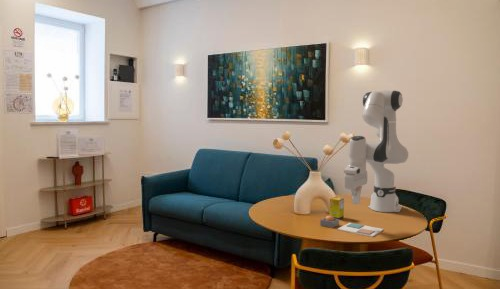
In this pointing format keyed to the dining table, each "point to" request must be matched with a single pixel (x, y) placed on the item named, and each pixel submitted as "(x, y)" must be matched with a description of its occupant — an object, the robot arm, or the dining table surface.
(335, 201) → the supplement box
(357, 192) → the cylinder
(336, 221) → the button housing
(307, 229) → the dining table surface
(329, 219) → the button
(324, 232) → the dining table surface
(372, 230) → the picture sheet
